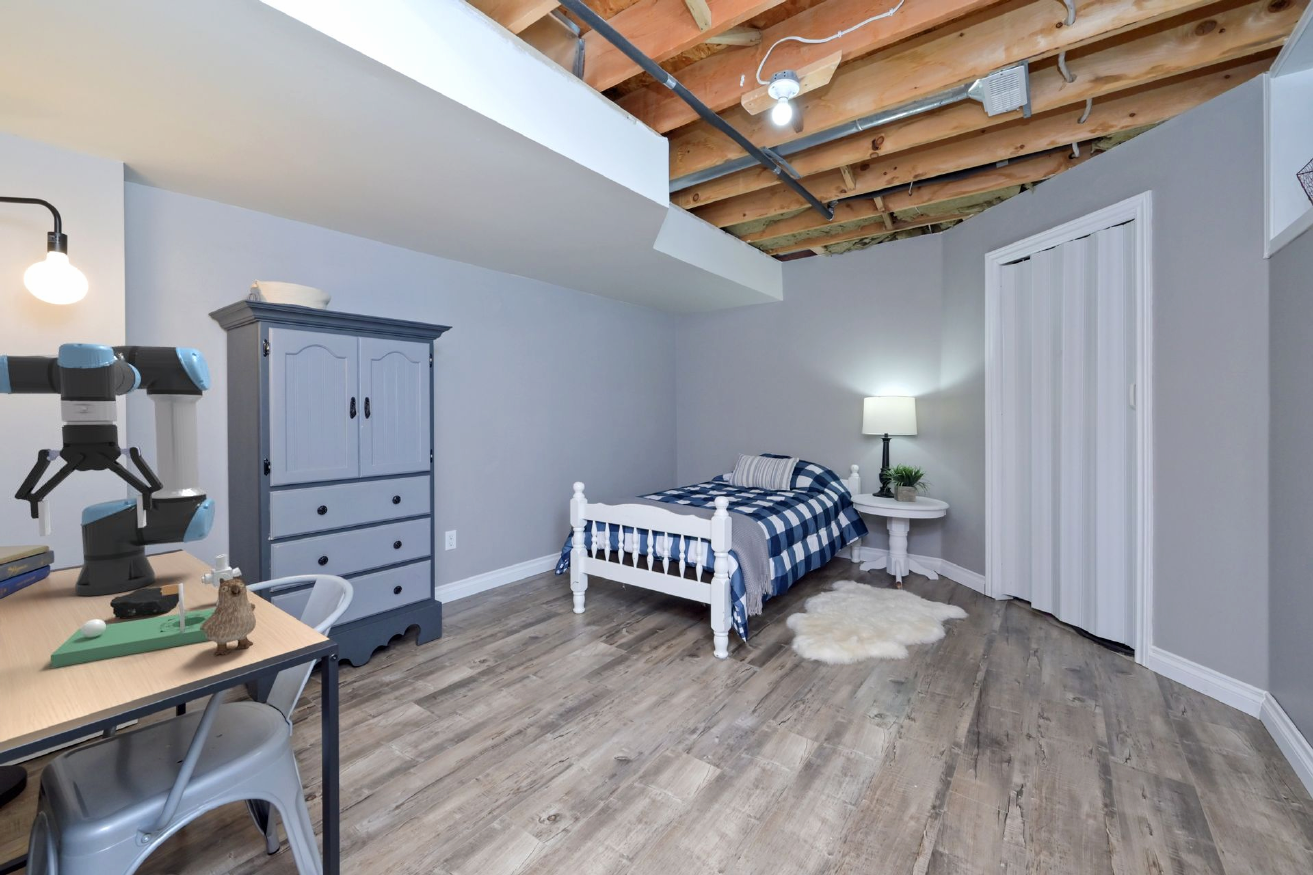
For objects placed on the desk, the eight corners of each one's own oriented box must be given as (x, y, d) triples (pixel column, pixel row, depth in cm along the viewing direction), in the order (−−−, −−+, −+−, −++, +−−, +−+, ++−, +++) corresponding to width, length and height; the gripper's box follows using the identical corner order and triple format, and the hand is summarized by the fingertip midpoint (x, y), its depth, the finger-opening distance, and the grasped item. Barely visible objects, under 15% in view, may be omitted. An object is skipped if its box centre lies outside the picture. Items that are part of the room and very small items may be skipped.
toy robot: (244, 600, 135) (242, 553, 134) (204, 608, 129) (202, 559, 129) (240, 596, 138) (239, 550, 137) (201, 604, 132) (199, 556, 131)
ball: (84, 635, 108) (84, 618, 108) (109, 631, 110) (108, 615, 110) (78, 642, 105) (77, 624, 105) (103, 638, 107) (102, 620, 107)
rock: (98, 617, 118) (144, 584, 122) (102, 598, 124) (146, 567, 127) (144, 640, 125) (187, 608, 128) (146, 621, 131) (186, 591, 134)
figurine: (212, 665, 101) (208, 586, 100) (191, 653, 106) (188, 578, 105) (267, 647, 109) (264, 574, 108) (245, 636, 114) (243, 566, 113)
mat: (79, 640, 112) (76, 581, 111) (226, 616, 124) (224, 563, 124) (51, 668, 100) (47, 602, 99) (217, 638, 113) (214, 580, 112)
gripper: (-16, 424, 96) (-9, 542, 97) (170, 422, 110) (175, 526, 111) (3, 423, 102) (9, 534, 103) (177, 422, 116) (181, 520, 117)
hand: (95, 530), depth 107 cm, fingers open, 13 cm apart
